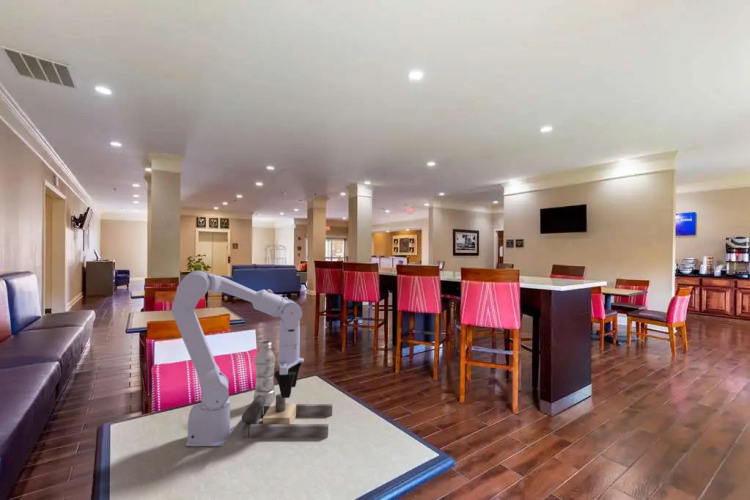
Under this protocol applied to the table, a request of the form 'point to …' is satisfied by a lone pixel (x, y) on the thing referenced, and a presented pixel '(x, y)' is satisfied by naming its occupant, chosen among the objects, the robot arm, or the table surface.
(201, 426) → the robot arm
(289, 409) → the tan wooden block
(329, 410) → the bay
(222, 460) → the table surface
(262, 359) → the plastic bottle
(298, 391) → the table surface
